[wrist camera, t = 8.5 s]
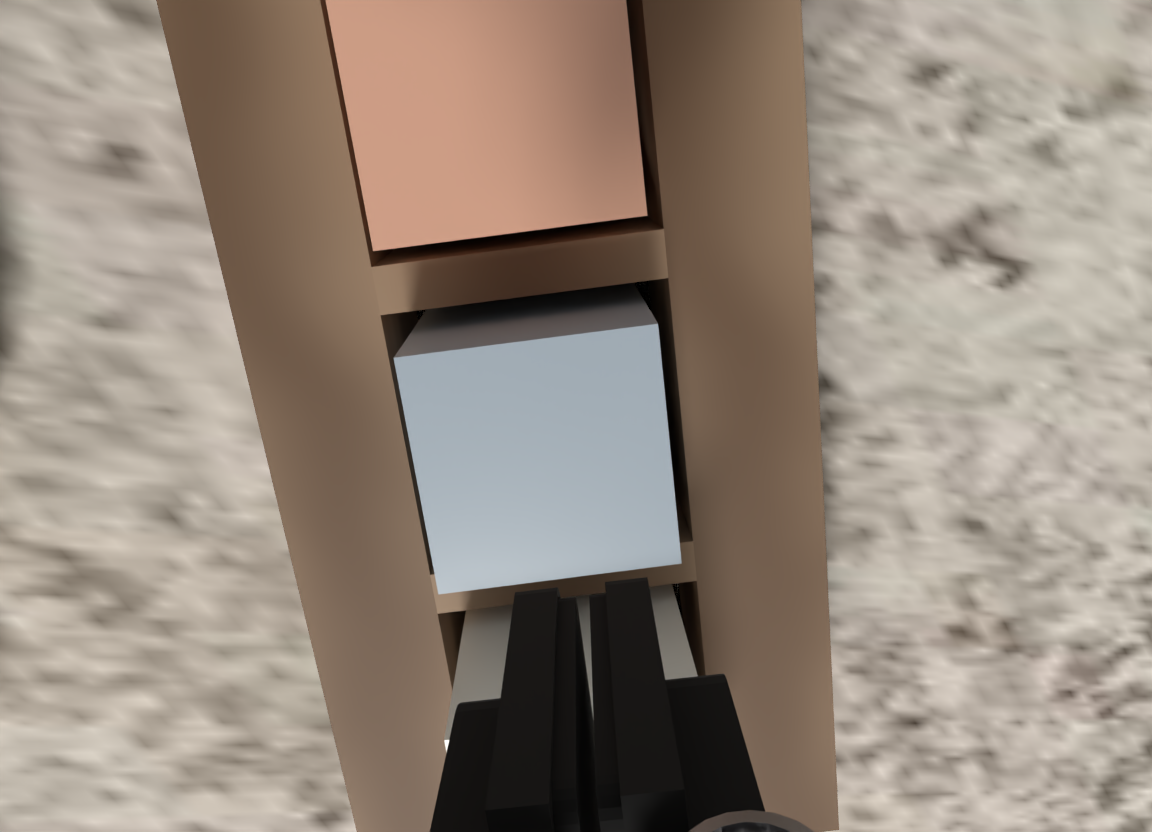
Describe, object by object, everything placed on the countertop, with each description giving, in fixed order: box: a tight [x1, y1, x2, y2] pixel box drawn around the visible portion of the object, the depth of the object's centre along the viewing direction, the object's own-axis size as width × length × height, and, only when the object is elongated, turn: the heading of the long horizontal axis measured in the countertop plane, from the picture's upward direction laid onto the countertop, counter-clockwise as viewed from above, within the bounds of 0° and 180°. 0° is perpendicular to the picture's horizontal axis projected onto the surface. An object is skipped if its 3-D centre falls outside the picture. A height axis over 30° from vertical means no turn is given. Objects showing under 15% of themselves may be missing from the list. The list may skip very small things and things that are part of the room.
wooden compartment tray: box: [156, 0, 839, 832], centre depth 22 cm, size 12×23×4 cm, turn 7°
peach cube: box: [326, 0, 647, 251], centre depth 18 cm, size 5×5×5 cm
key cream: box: [444, 584, 698, 752], centre depth 20 cm, size 5×5×5 cm
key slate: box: [394, 283, 682, 594], centre depth 20 cm, size 5×5×5 cm
